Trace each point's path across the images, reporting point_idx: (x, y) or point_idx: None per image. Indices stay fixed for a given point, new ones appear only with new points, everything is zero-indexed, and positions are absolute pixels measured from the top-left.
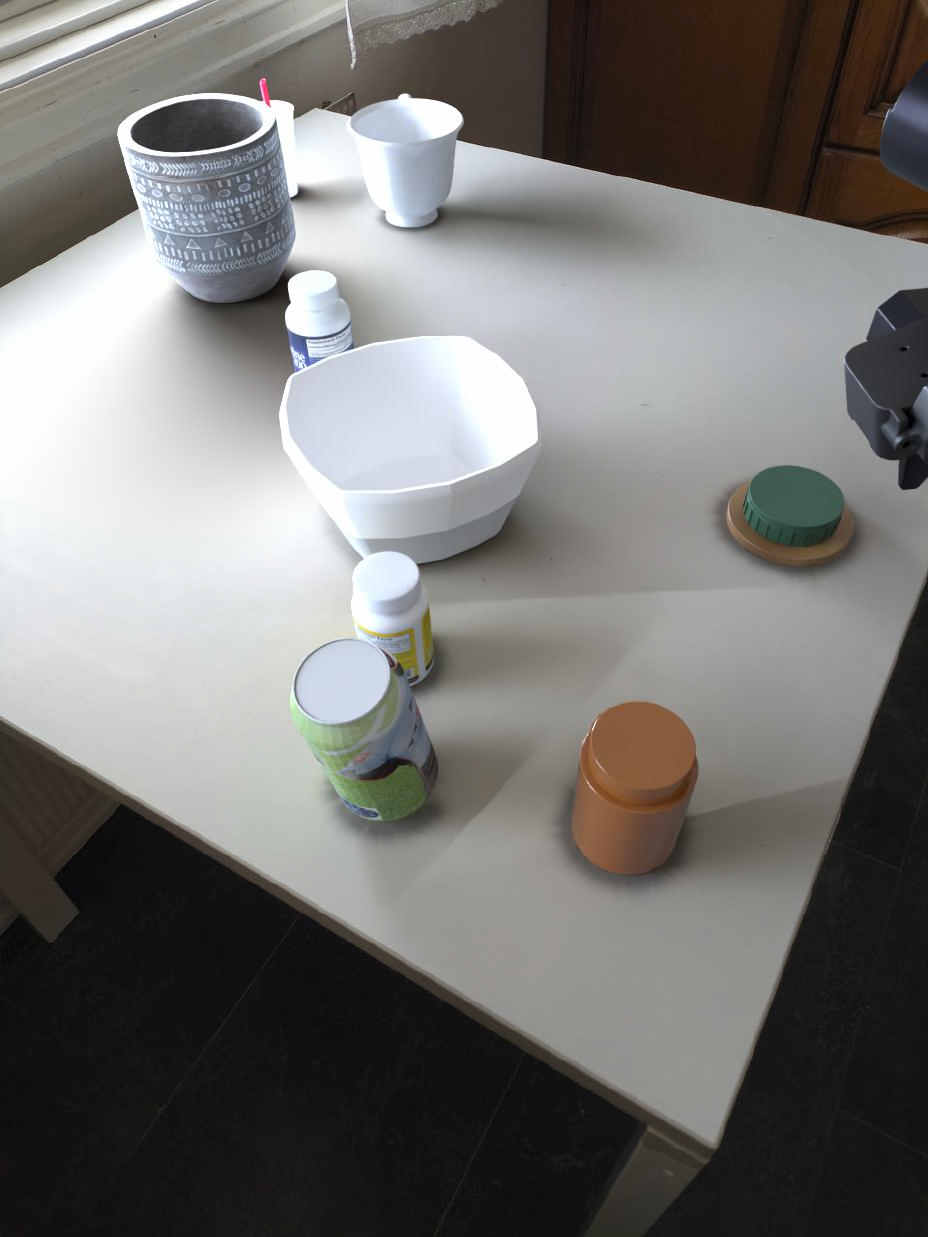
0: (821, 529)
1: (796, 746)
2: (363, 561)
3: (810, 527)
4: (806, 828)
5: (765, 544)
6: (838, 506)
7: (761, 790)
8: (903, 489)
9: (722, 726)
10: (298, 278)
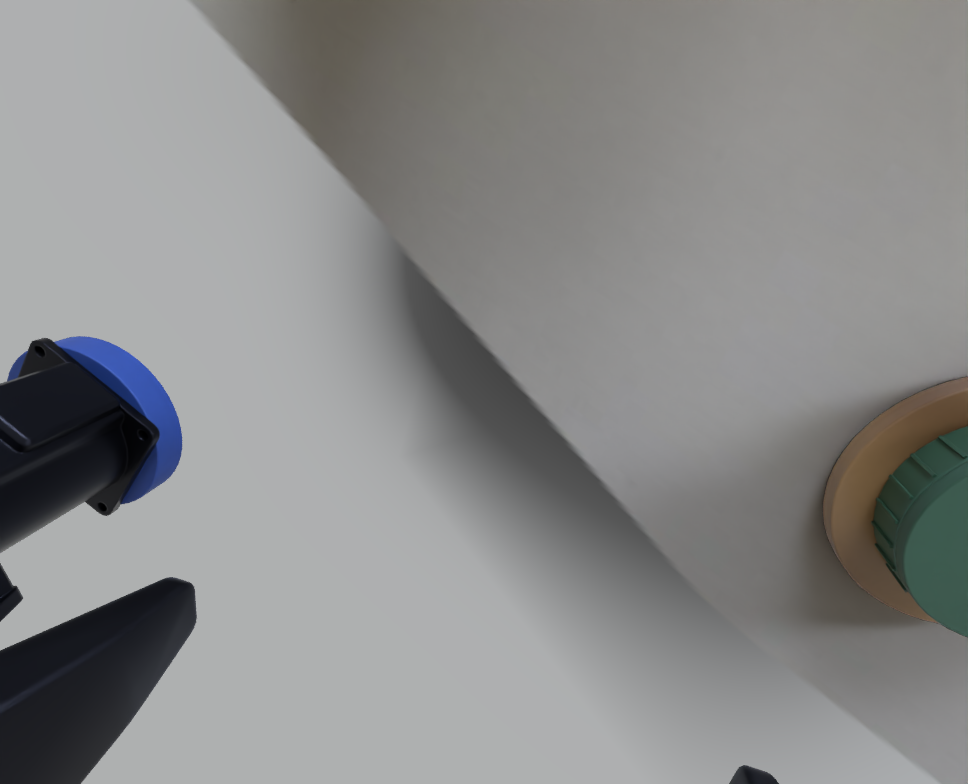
0: (898, 532)
1: (457, 180)
2: None
3: (918, 513)
4: (309, 103)
5: (951, 413)
6: (934, 603)
7: (392, 57)
8: (740, 770)
9: (545, 48)
10: None
